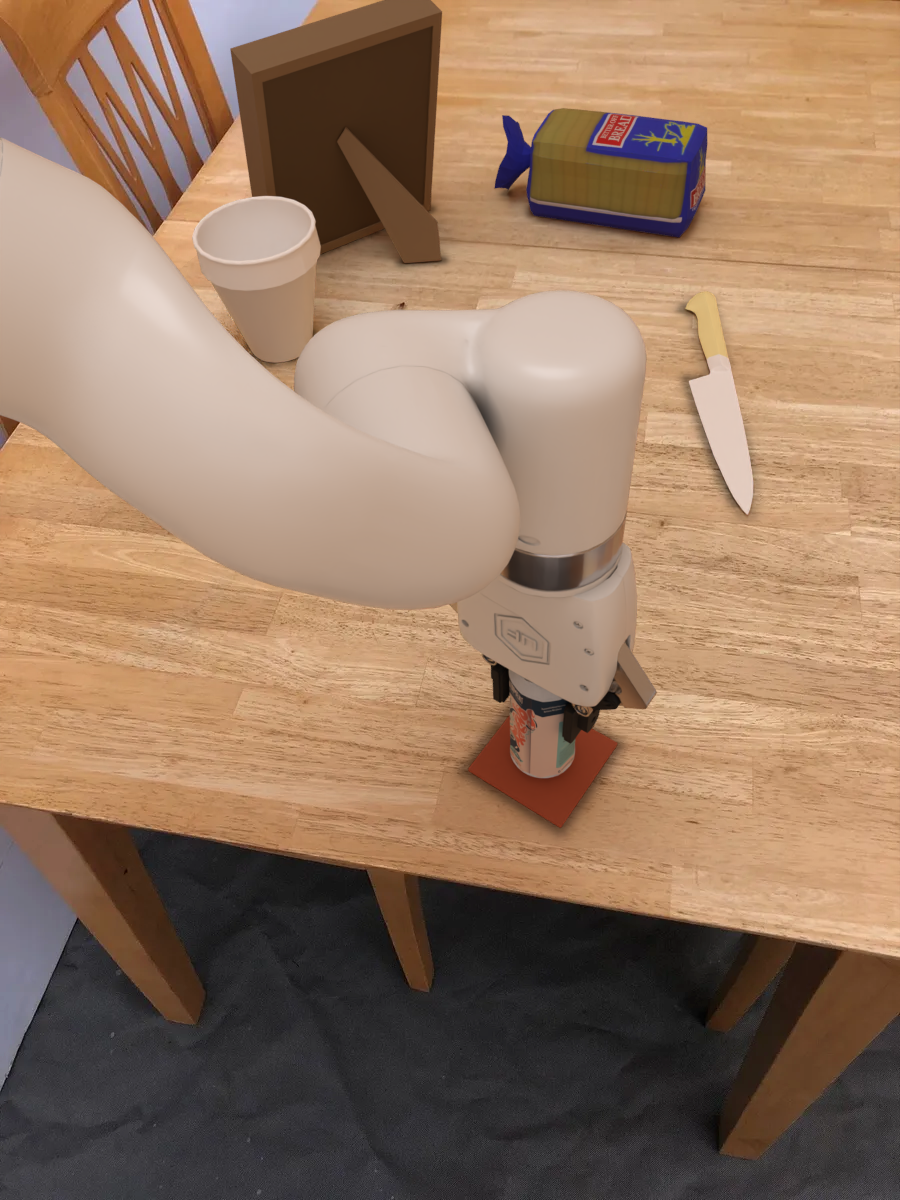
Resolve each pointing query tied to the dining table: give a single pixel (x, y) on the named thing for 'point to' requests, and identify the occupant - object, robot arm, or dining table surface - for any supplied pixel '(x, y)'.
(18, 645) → the dining table surface
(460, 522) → the robot arm
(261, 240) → the cup
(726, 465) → the knife
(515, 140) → the bread
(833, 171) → the dining table surface
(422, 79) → the photo frame
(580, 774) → the mat
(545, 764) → the beer can
